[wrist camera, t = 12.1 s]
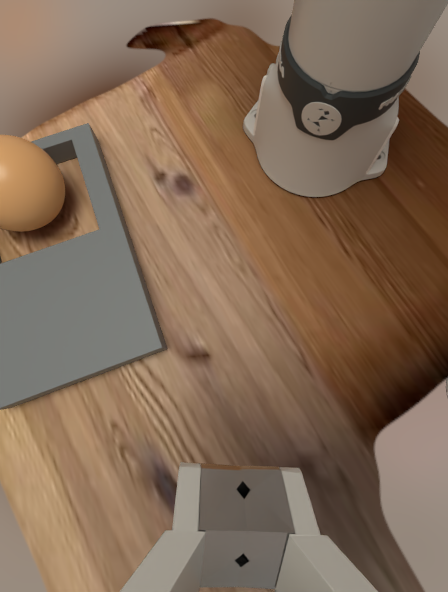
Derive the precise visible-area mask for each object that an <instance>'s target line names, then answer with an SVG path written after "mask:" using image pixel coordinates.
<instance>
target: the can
mask: <svg viewBox="0 0 448 592" xmlns="http://www.w3.org/2000/svg"><path fill="white" fill-rule="evenodd" d="M446 392H447V397H448V378H447V381H446Z"/></svg>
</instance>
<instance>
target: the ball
mask: <svg viewBox="0 0 448 592" xmlns="http://www.w3.org/2000/svg"><path fill="white" fill-rule="evenodd" d="M64 199H65V183H64V179H63V176H62V174H61V171H60V169H59V168H58V166H57V164H56V163H55V162H54V160H53V159H52V158H51V157H50V156H49V155H48V154H47V153H46V152H45V151H44V150H43V149H41V148H40V147H38V146H37V145H35V144H34V143H32V142H30V141H27V140H25V139H23V138H19V137H16V136H10V135H0V228H1V229H5V230H9V231H19V232H20V231H31V230H35V229H38V228H41V227H43V226H45V225H47V224H48V223H50V222H51V221H52V220H53V219H54V218H55V217H56V216H57V215H58V214H59V212H60V210H61V208H62V206H63V203H64Z"/></svg>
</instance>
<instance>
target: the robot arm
mask: <svg viewBox="0 0 448 592" xmlns="http://www.w3.org/2000/svg"><path fill="white" fill-rule="evenodd" d="M447 4H448V0H294V4H293V10H292V15H291V17H290V18H289V20H288V22H287V24H286V27H285V31H284V35H283V38H282V41H281V44H280V50H279V53H278V56H277V59H276V64H274V63H272V64H271V65H270V66H269V69H268V72H267V75H266V76H264V77H263V80H262V84H261V89H260V95H259V100H258V101H257V102H256V104H255V105H254V106H253V108H252V109H251V110H250V112H249V113H248V114H247V116H246V117H245V119H244V123H243V129H244V132H245V133H246V135H247V136H248V137H249V138H250V140H251V141H252V142H253V143H254V146H255V149H256V153H257V157H258V160H259V162H260V165H261V167H262V168H263V170H264V171H265V173H266V174H267V175H268V177H269V178H270V179H271V180H272V181H274V182H275V183H276V184H277V185H279V186H280V187H282V188H283V189H285V190H287V191H289V192H292V193H295V194H298V195H302V196H308V197H323V196H329V195H333V194H336V193H339V192H341V191H343V190H345V189H347V188H349V187H350V186H352V185H353V184H355V183H356V182H358V181H361V180H366V179H371V178H376V177H378V176H380V175H382V174H383V172H384V170H385V169H386V166H387V158H388V148H389V138H390V137H391V135H392V134H393V132H394V130H395V129H396V127H397V125H398V122H399V118H398V117H397V115H398V108H399V95H400V94H401V93H402V92H403V90H404V89H405V87H406V85H407V84H408V82H409V80H410V78H411V74H412V72H413V71H414V69H415V67H416V65H417V62H418V59H419V54H420V49H421V48H422V46H423V44H424V43H425V41H426V39H427V38H428V36H429V34H430V33H431V31H432V29H433V28H434V26H435V24H436V22H437V21H438V19H439V18H440V16H441V14H442V13H443V11H444V9H445V7H446V6H447ZM377 158H378V159H377ZM200 587H246V588H265V589H275V592H378V591H377V590H376V589H375V588H374V587H373V585H372V584H371V583H370V582H369V581H368V580H367V579H366V578H365V577H364V576H363V574H362V573H361V572H360V571H359V570H358V569H357V568H356V567H355V566H354V564H353V563H352V562H351V561H350V560H349V559H348V558H347V557H346V556H345V555H344V553H343V552H342V551H341V550H340V549H339V548H338V547H337V546H336V545H335V543H334V542H333V541H332V540H331V539H330V538H329V537H328V536H327V535H321V534H320V531H319V527H318V524H317V521H316V518H315V514H314V511H313V508H312V504H311V501H310V498H309V495H308V491H307V488H306V485H305V481H304V478H303V475H302V472H301V470H300V469H299V468H290V467H279V468H278V467H271V466H231V465H217V464H204V463H201V465H200V463H185V462H181V463H180V466H179V473H178V482H177V491H176V500H175V509H174V518H173V527H172V530H165V532H164V533H163V534H162V536H161V537H160V538H159V540H158V541H157V542H156V544H155V545H154V546H153V548H152V549H151V550H150V552H149V553H148V554H147V556H146V557H145V558H144V560H143V561H142V562H141V564H140V565H139V567H138V568H137V569H136V571H135V572H134V573H133V575H132V576H131V577H130V579H129V580H128V581H127V583H126V584H125V585H124V587H123V588H122V589H121V591H120V592H199V588H200Z"/></svg>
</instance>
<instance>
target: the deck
mask: <svg viewBox="0 0 448 592" xmlns="http://www.w3.org/2000/svg"><path fill="white" fill-rule="evenodd" d="M32 143H34V144H35V145H37V146H38V147H40V148H41V149H43V150H44V151H45V152H46V153H47V154H48V155H49V156H50V157H51V158H52V159H53V160H54V162H55V163H56V164H58V163H61V162H64V161H67V160H70V159H73V158H76V157H77V158H78V161H79V164H80V168H81V171H82V174H83V177H84V180H85V184H86V187H87V190H88V193H89V197H90V200H91V203H92V206H93V209H94V213H95V216H96V219H97V222H98V226H99V230H97V231H94V232H91V233H88V234H85V235H82V236H79V237H76V238H73V239H71V240H68V241H65V242H62V243H59V244H56V245H53V246H50V247H47V248H45V249H42V250H39V251H36V252H33V253H30V254H27V255H24V256H21V257H19V258H16V259H13V260H10V261H7V262H4V263H2V262H1V258H0V410H1V409H7V408H12V407H15V406H17V405H20V404H22V403H25V402H28V401H30V400H33V399H36V398H38V397H41V396H44V395H46V394H49V393H52V392H54V391H57V390H60V389H62V388H65V387H68V386H70V385H73V384H76V383H78V382H81V381H84V380H86V379H89V378H92V377H94V376H97V375H100V374H102V373H105V372H108V371H110V370H113V369H116V368H118V367H121V366H124V365H126V364H129V363H132V362H134V361H137V360H140V359H142V358H145V357H148V356H150V355H153V354H156V353H158V352H161V351H164V350H166V349H167V346H166V343H165V340H164V337H163V334H162V331H161V328H160V325H159V322H158V319H157V316H156V313H155V310H154V307H153V304H152V301H151V298H150V295H149V292H148V289H147V286H146V283H145V280H144V277H143V274H142V271H141V268H140V265H139V262H138V259H137V256H136V253H135V250H134V247H133V244H132V241H131V238H130V235H129V232H128V229H127V226H126V223H125V220H124V217H123V214H122V211H121V208H120V205H119V202H118V199H117V196H116V193H115V190H114V187H113V184H112V180H111V177H110V174H109V171H108V168H107V165H106V162H105V159H104V156H103V153H102V150H101V147H100V144H99V141H98V139H97V137H96V135H95V134H94V132H93V130H92V128H91V127H90V125H89V123H87V124H84V125H81V126H78V127H75V128H72V129H69V130H66V131H63V132H59V133H56V134H53V135H50V136H47V137H44V138H41V139H38V140H35V141H32Z"/></svg>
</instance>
